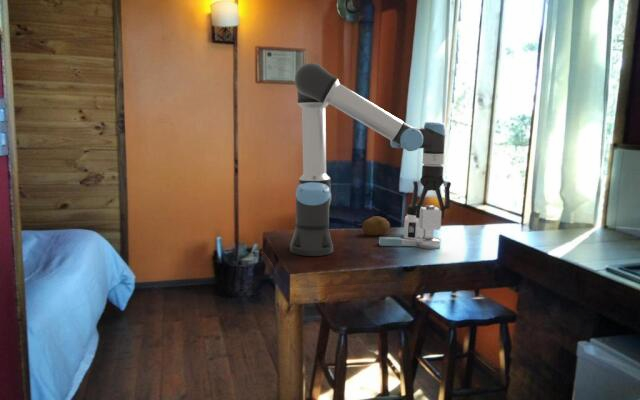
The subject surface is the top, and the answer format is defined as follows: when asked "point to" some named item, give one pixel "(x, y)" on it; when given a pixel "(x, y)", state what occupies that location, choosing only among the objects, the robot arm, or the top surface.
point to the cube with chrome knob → (430, 217)
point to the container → (412, 224)
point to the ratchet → (413, 241)
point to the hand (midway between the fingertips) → (429, 226)
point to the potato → (375, 226)
